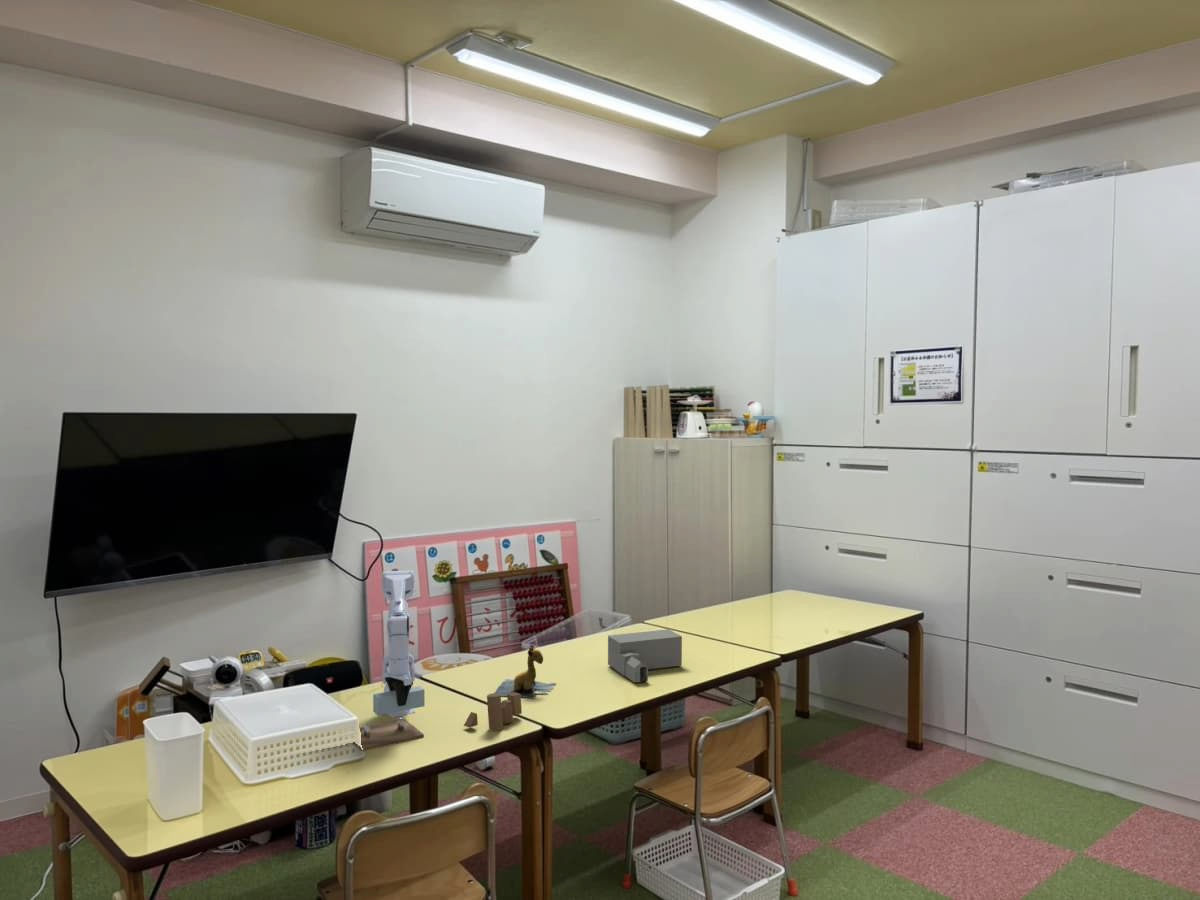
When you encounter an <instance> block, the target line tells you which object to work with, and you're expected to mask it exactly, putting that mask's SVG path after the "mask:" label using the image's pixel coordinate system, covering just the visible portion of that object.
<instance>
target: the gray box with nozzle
mask: <svg viewBox="0 0 1200 900" xmlns="http://www.w3.org/2000/svg"><path fill="white" fill-rule="evenodd" d="M682 650H683V637H682V635H680V634H678V633H676V632H674V631H672V630H671V629H670V628H669V629H668V628H667V629H660V630H658V629H657V630H650V631H639V632H628V633H619V634H610V635H607V665H608V666H610V668H613V669H614V670H615V671H616V672H618V673H619V674H620V675H622V676H623V677H626V678H627V679H628V680H629V681H631V682H633V683H636V682H637V683H642V682H643V683H644V682H649V681H648V680H649V670H655V669H656V670H657V669H665V668H672V667H678V666H679V667H680V666H682V663H683V659H682V658H683V656H682V654H683V651H682ZM637 683H636V684H637Z"/></svg>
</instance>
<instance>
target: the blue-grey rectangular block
mask: <svg viewBox="0 0 1200 900" xmlns="http://www.w3.org/2000/svg"><path fill="white" fill-rule="evenodd" d="M372 698H373V701H372V705H373V707H372V708H373V709H372V711H373V713H375V714H376V716H383V715H387V714H389V713H394V712H399V711H404V710H409V709H413V710H415V709H418V708H422V707H425V703H426V702H425V700H426V699H425V688H423V687H421V686H420V685H416V686H412V687H411V689H410V691H409V694H408V698H407V702H406V705H404V706H398V703H397V696H396V691H395V690H394V691H389V692H384V691H383V692H379V693H375V694H372Z"/></svg>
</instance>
